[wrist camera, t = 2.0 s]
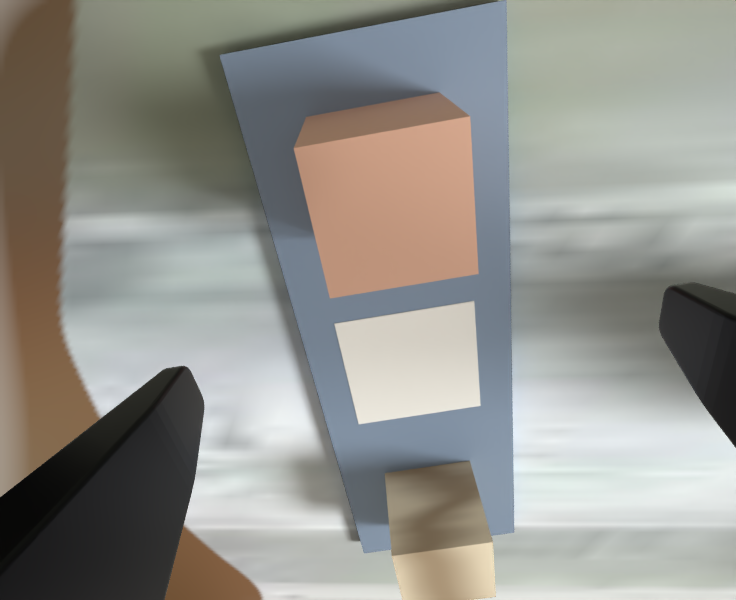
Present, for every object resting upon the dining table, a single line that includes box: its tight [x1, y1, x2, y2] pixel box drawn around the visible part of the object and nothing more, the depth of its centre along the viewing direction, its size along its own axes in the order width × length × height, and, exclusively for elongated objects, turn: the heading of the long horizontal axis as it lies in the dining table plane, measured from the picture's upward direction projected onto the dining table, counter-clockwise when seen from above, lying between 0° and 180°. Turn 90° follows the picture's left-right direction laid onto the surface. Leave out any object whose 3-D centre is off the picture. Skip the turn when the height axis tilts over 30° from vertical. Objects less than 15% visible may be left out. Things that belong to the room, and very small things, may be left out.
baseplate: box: [220, 0, 514, 553], centre depth 24 cm, size 10×30×1 cm, turn 9°
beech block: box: [385, 461, 496, 600], centre depth 27 cm, size 5×5×5 cm
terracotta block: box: [294, 92, 479, 298], centre depth 17 cm, size 5×5×5 cm
